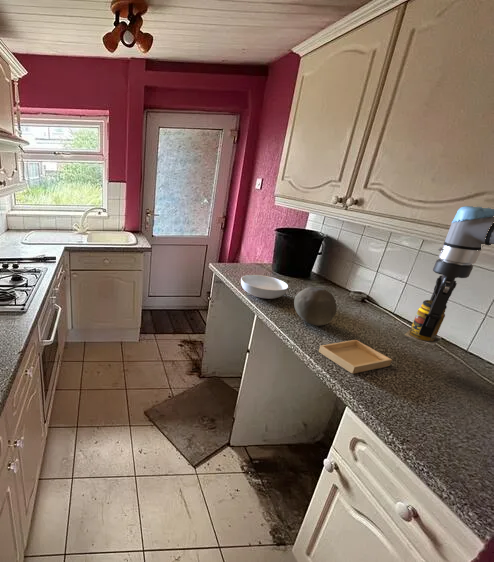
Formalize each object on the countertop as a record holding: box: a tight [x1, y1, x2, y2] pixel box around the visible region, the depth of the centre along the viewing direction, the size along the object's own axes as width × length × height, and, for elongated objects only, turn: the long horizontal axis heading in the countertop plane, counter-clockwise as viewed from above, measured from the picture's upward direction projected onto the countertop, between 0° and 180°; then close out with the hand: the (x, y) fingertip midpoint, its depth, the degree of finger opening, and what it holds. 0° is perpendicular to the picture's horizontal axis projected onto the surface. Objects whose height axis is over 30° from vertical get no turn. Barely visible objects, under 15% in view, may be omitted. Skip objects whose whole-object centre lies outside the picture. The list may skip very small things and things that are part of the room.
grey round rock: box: [293, 286, 338, 326], centre depth 123 cm, size 14×14×15 cm
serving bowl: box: [240, 274, 289, 300], centre depth 150 cm, size 21×21×7 cm
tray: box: [318, 339, 393, 374], centre depth 103 cm, size 16×12×2 cm
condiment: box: [403, 299, 448, 346], centre depth 97 cm, size 7×8×12 cm
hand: (424, 331), depth 98 cm, fingers closed on condiment, 6 cm apart
